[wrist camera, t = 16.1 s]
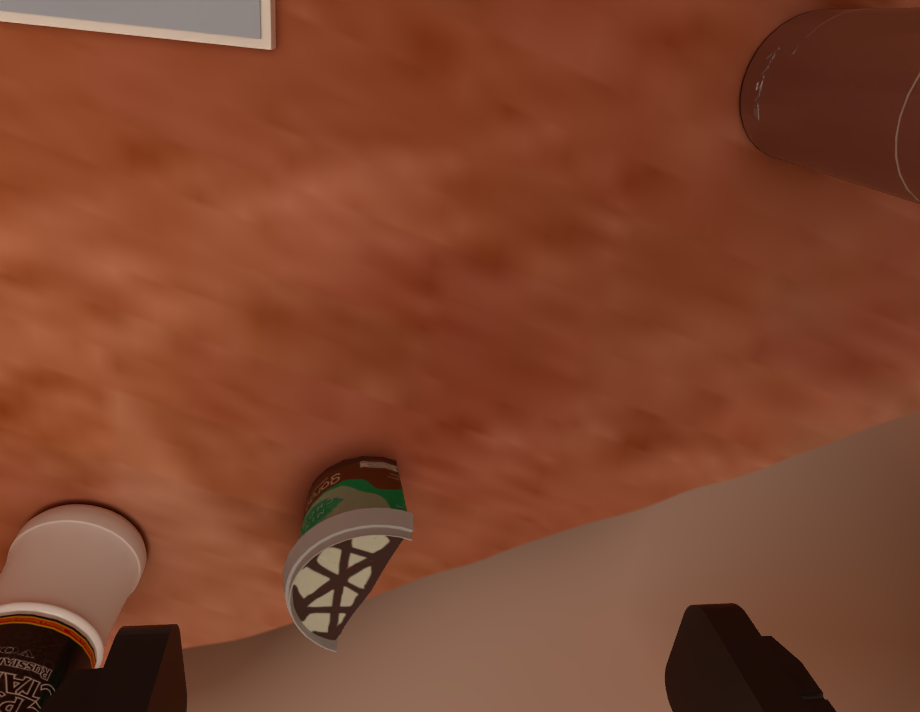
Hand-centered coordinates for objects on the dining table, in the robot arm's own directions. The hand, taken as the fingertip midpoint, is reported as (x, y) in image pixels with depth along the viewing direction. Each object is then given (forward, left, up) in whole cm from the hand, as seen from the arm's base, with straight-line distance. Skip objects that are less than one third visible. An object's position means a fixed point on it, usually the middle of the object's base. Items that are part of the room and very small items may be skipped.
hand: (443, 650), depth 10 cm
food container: (+2, +25, -36) cm, 44 cm away
